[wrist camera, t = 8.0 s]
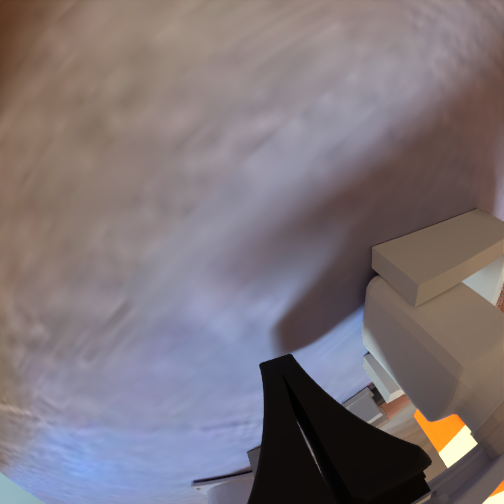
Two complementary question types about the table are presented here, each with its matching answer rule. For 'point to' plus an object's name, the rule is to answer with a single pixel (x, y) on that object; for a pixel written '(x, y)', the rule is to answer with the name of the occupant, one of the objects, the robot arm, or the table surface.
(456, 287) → the pepper shaker
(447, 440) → the orange juice
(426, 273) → the end holder
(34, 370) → the table surface
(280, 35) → the table surface
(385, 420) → the clips
